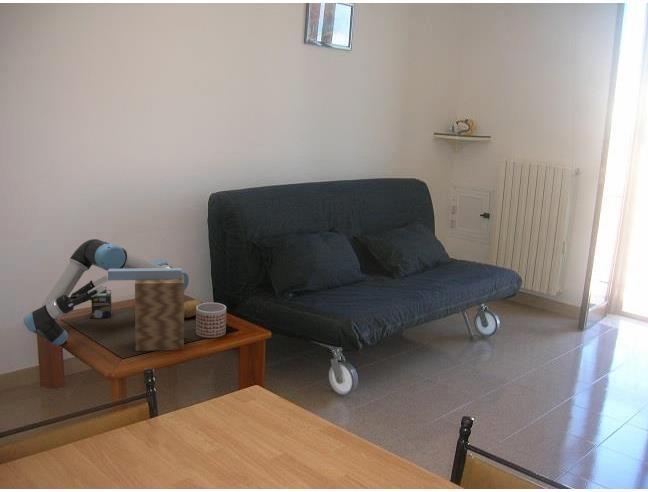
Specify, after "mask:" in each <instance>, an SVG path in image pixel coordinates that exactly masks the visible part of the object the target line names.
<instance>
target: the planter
mask: <svg viewBox="0 0 648 492" xmlns="http://www.w3.org/2000/svg"><path fill="white" fill-rule="evenodd" d="M226 333H227V306H226V305H225V304H223V303H219V302H204V303H201V304H200V305H198V306H197V307H196V315H195V334H196V336H198V337H201V338H205V339H217V338H222V337H223V336H225V335H226Z"/></svg>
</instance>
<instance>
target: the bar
mask: <svg viewBox="0 0 648 492" xmlns="http://www.w3.org/2000/svg"><path fill="white" fill-rule="evenodd" d="M181 270H182V268H181V267H174V268H131V269H109V270H108V271H107V277H108V281H107V282H109V281H110V282H111V281H135V280H174V279H181Z"/></svg>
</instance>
